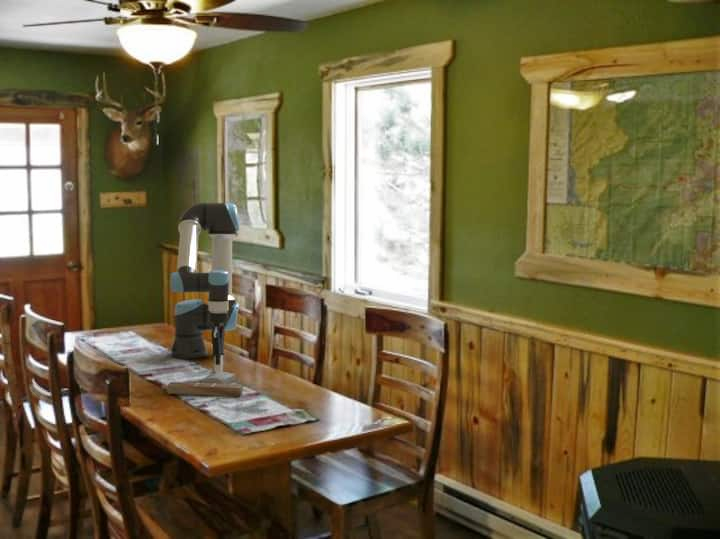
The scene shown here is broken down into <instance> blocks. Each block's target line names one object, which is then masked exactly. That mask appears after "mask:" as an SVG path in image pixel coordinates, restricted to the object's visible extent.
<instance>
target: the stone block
mask: <svg viewBox="0 0 720 539" xmlns="http://www.w3.org/2000/svg"><path fill="white" fill-rule="evenodd" d="M235 380H236V374H235V373H234V372H233V373H231V372H226V371H222V372H218V373H210V374H209V375H207V376H206V377H205V378H202V380H201V383H209V384H214V383H216V384H233V383H234V382H235Z"/></svg>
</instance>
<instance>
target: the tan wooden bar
mask: <svg viewBox="0 0 720 539" xmlns="http://www.w3.org/2000/svg"><path fill="white" fill-rule="evenodd" d="M166 388H167V394H169V395H171V394H172V395H174V394H175V395H198V396H199V395H204V396H228V397H231V396H232V397H233V396H234V397H241V396H242V394H243V393H244V391H243V390H244V389H243V384H237V383H236V384H235V383H234V384H233V383H231V384H216V383H214V384H209V383H202V382H201V383H200V382H175V381H172V382H171V381H170V382H169V383H168V384H167V385H166Z"/></svg>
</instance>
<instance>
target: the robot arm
mask: <svg viewBox="0 0 720 539" xmlns="http://www.w3.org/2000/svg"><path fill="white" fill-rule="evenodd" d="M177 224H178V225H177V229H178V232H179V242H178V255H177V267H176V271H175V272H172V273H171V274H170V289H171V291H172V292H175V293H208V298H207V302H205V303H204V301H203V300H202V299H200V298H199V299H197V298H196V299H195V298H194V299H188V300H183V301H182V300H181V301H179V302H177V303H176V304H175V305H174V306H175V307H174V314H173V315H174V339H173V341H172V344H171V348H170V357H172V358H176V359H182V360H183V359H185V360H189V359H190V360H191V359H192V360H193V359H199V358H203V357H205V356H207V355H208V348H207V345H206V342H205V339H204V336H203V334H204V333H203V332H204V331H205V332H207V331H208V332H209V331H212V332H211V341H212V354H211V356H212V357H214V358H213V359H214V369H213V370H214V373H218V372H223V356H224V355H225V352H224V351H225V331H233V330H235V329H236V327H237V323H238V322H237V321H238V314H239V306H240V303H238V302H236V301H237V300H236V297H235V296H233V239H234V237H236V235H237V232H238V231H240V225H239V217H238V209H237V206H236V204H235V203H234V204H233V203H225V202H223V203H221V202H219V203H218V202H199V203H195V204H193V205H191V206H189V207H187V209H185V211H184V212H183V213H182V214H181V216H180V218H179V220H178V223H177ZM202 231H207V232H208V234H207V235H208V236H209V237H210V238H211V271H209V272H197V269H198V267H197V266H198V253H199V238H200V237H199V236H200V234H201V232H202Z"/></svg>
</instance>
